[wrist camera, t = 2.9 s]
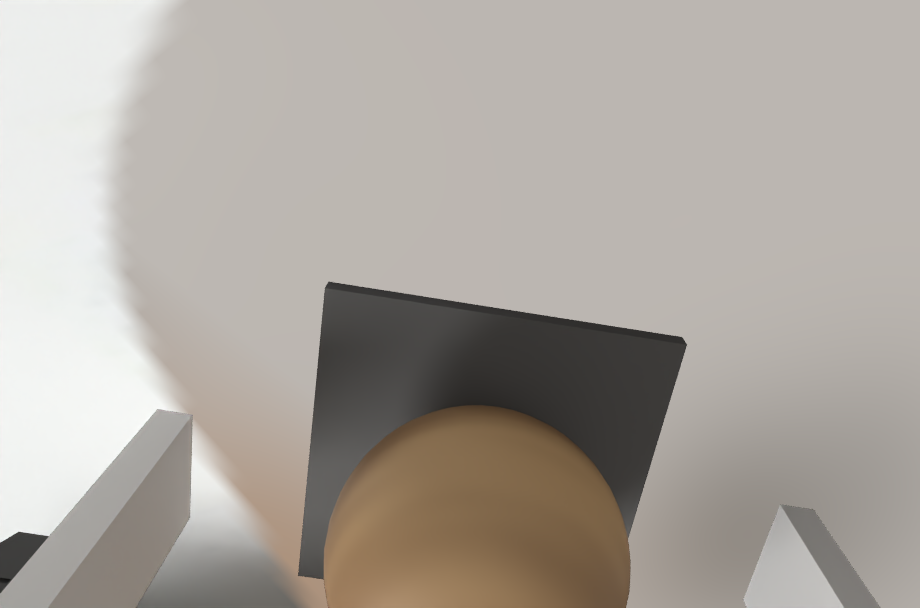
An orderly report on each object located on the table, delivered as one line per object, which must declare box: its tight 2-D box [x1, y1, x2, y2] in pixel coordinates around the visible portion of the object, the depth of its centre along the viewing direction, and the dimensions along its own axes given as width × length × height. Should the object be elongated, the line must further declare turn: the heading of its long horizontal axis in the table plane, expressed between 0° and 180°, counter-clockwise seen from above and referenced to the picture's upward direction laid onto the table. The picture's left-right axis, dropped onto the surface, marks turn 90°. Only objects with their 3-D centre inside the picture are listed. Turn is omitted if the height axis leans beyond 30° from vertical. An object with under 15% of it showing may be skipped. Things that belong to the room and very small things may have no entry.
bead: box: [324, 405, 630, 608], centre depth 14 cm, size 6×6×6 cm
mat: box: [298, 282, 687, 579], centre depth 17 cm, size 8×8×1 cm
